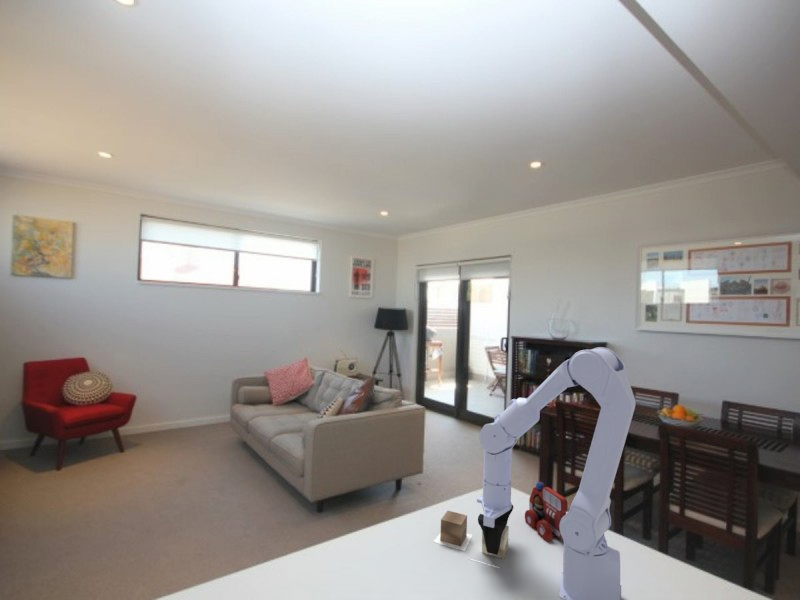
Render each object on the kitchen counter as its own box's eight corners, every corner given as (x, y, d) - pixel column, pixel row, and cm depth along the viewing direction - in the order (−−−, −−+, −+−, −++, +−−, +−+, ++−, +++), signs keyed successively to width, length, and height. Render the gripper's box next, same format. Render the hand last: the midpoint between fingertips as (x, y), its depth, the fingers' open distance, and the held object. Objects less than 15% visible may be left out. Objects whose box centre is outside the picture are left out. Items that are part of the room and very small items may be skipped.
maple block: (508, 547, 87) (508, 526, 88) (503, 559, 83) (504, 536, 83) (486, 541, 89) (487, 520, 89) (481, 552, 85) (482, 530, 85)
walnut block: (466, 535, 91) (467, 515, 91) (460, 546, 87) (461, 524, 87) (446, 530, 93) (447, 510, 93) (440, 540, 89) (440, 519, 89)
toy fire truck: (544, 517, 102) (545, 474, 102) (578, 545, 90) (579, 497, 90) (519, 519, 100) (520, 476, 101) (550, 549, 88) (551, 500, 89)
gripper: (486, 464, 95) (484, 524, 95) (469, 489, 82) (466, 559, 82) (517, 470, 92) (516, 532, 92) (505, 497, 79) (503, 569, 79)
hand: (495, 545), depth 86 cm, fingers open, 5 cm apart
